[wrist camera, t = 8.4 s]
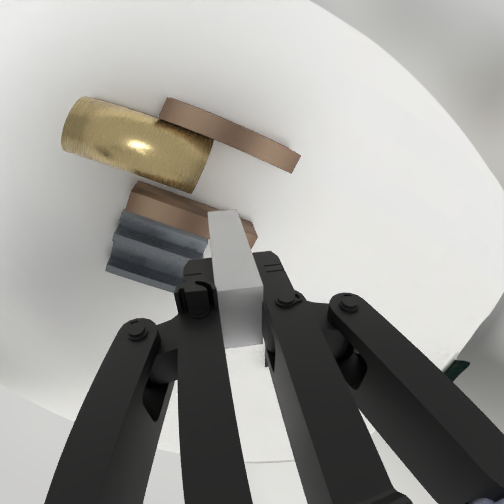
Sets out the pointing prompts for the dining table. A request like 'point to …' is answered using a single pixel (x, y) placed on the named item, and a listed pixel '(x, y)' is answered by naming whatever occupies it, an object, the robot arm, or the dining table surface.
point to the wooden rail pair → (194, 213)
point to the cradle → (153, 251)
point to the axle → (136, 143)
